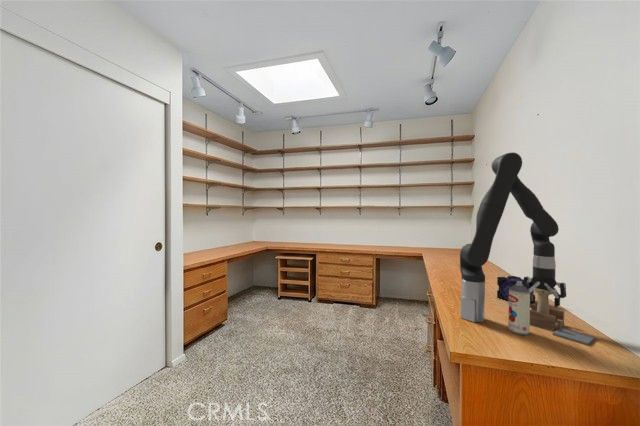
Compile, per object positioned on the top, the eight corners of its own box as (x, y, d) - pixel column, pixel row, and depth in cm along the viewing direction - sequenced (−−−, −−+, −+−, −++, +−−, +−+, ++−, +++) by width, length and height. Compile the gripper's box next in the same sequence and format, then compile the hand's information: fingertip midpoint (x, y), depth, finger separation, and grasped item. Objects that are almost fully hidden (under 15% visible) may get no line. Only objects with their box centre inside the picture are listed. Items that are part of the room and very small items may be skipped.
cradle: (554, 331, 107) (554, 317, 107) (522, 322, 116) (522, 308, 116) (564, 325, 114) (564, 311, 114) (532, 316, 123) (532, 303, 123)
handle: (552, 327, 111) (553, 291, 111) (532, 323, 116) (533, 288, 116) (552, 324, 115) (553, 289, 115) (533, 320, 119) (534, 286, 119)
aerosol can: (504, 327, 111) (505, 279, 111) (522, 328, 110) (522, 279, 110) (515, 334, 104) (515, 283, 104) (533, 335, 104) (534, 284, 104)
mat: (588, 345, 96) (588, 343, 96) (552, 334, 105) (552, 332, 105) (595, 338, 102) (595, 336, 102) (560, 328, 110) (560, 327, 110)
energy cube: (497, 298, 150) (497, 277, 150) (512, 296, 153) (513, 275, 153) (518, 305, 138) (518, 282, 138) (535, 303, 142) (535, 281, 142)
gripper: (520, 264, 119) (520, 300, 119) (562, 270, 107) (562, 310, 107) (527, 262, 123) (527, 297, 123) (568, 268, 111) (568, 307, 111)
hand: (543, 303), depth 115 cm, fingers open, 8 cm apart
